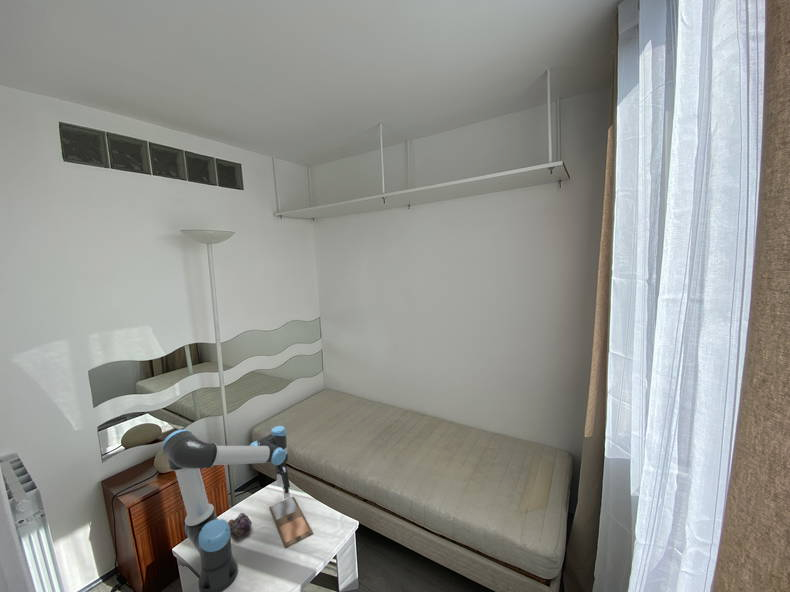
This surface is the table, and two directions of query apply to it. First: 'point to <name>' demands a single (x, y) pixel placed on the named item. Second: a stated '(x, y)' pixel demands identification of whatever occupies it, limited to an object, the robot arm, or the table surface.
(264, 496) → the table surface
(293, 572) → the table surface
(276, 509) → the board
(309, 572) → the table surface
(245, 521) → the rock
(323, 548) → the table surface
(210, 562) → the robot arm
